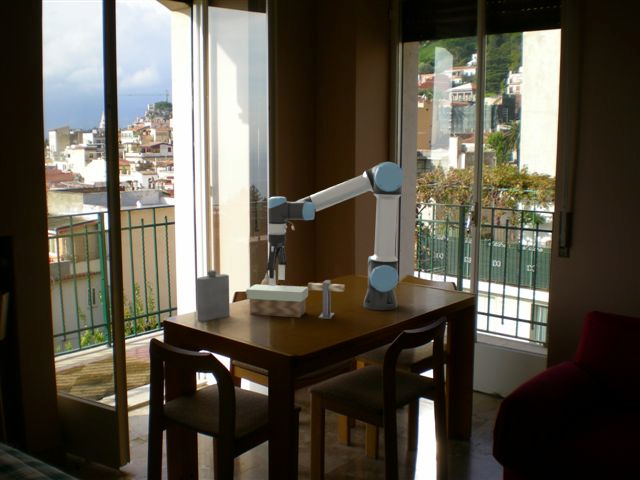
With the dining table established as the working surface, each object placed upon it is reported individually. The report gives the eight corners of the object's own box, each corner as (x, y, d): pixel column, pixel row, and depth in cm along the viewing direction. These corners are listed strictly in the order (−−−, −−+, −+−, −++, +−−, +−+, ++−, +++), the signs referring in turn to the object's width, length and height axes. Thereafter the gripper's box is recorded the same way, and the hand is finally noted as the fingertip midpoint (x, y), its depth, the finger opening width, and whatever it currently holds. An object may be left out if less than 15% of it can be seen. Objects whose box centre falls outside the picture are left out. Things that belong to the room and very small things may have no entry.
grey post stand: (334, 314, 294) (334, 279, 292) (330, 318, 286) (330, 283, 284) (323, 313, 295) (323, 279, 293) (318, 318, 287) (318, 282, 285)
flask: (223, 313, 295) (223, 267, 292) (231, 316, 291) (231, 269, 288) (194, 319, 285) (192, 272, 282) (201, 322, 281) (200, 274, 278)
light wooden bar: (344, 290, 289) (344, 284, 289) (343, 291, 286) (343, 285, 286) (309, 288, 293) (309, 282, 292) (307, 290, 290) (307, 284, 289)
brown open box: (305, 312, 298) (305, 296, 297) (299, 317, 289) (299, 301, 288) (256, 309, 303) (256, 293, 302) (250, 314, 294) (249, 298, 293)
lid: (308, 296, 297) (308, 287, 297) (301, 301, 287) (301, 292, 286) (255, 293, 303) (255, 284, 302) (246, 298, 292) (246, 289, 292)
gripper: (277, 237, 278) (276, 288, 281) (293, 230, 302) (293, 277, 305) (259, 236, 280) (259, 287, 283) (277, 229, 304) (277, 276, 307)
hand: (276, 282), depth 294 cm, fingers open, 13 cm apart
